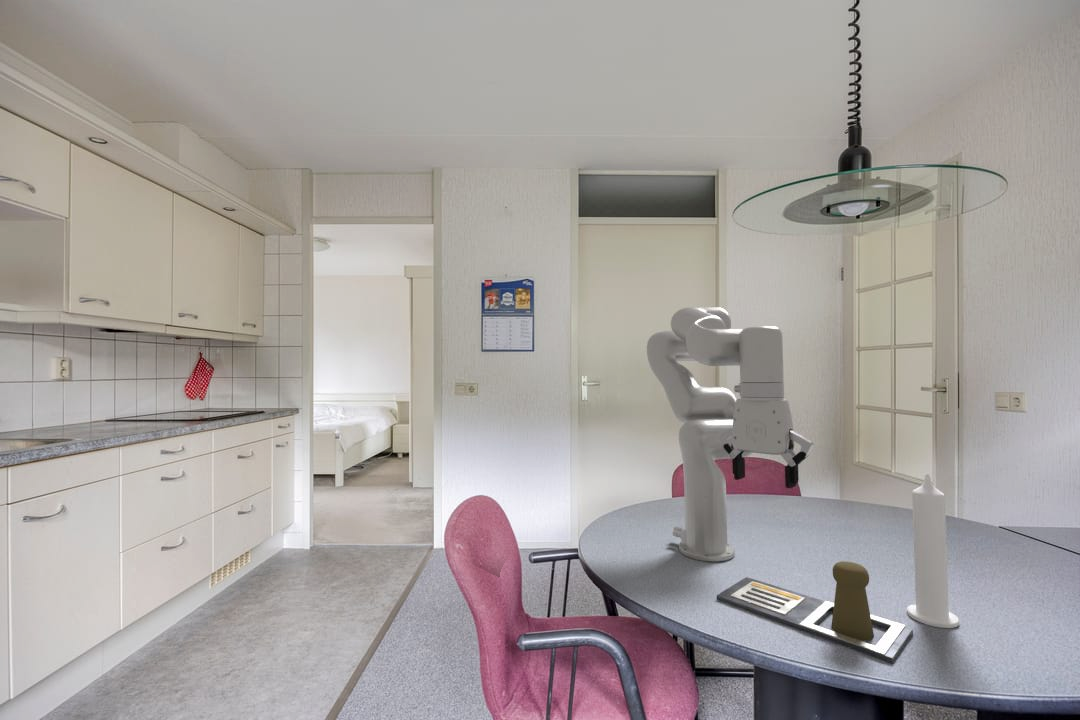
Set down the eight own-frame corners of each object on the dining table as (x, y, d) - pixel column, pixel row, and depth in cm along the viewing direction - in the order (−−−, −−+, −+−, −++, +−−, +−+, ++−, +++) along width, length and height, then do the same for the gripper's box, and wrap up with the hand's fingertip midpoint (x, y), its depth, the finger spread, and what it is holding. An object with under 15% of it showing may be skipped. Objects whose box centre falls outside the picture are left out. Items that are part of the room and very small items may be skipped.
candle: (959, 616, 86) (954, 472, 86) (958, 633, 81) (953, 479, 81) (909, 604, 91) (904, 467, 91) (904, 619, 85) (900, 474, 86)
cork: (834, 617, 86) (832, 554, 87) (876, 628, 83) (873, 562, 83) (828, 632, 82) (826, 565, 82) (872, 644, 78) (869, 574, 78)
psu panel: (716, 599, 94) (716, 593, 94) (746, 580, 102) (746, 575, 102) (892, 663, 73) (892, 656, 73) (912, 633, 81) (912, 626, 81)
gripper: (709, 391, 97) (711, 478, 97) (802, 394, 84) (805, 494, 84) (728, 390, 102) (730, 473, 102) (818, 392, 89) (821, 487, 89)
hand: (764, 482), depth 93 cm, fingers open, 9 cm apart
